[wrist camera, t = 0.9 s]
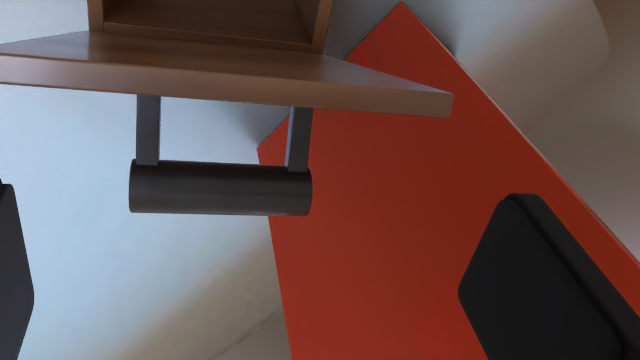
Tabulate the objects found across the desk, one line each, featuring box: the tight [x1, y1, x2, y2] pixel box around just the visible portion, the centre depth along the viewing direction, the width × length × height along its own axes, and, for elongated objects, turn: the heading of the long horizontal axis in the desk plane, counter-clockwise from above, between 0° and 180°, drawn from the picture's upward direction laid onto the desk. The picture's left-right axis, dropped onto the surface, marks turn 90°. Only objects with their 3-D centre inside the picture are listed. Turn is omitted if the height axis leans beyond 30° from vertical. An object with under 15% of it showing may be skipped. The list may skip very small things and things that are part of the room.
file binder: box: [257, 1, 640, 360], centre depth 33 cm, size 8×17×32 cm, turn 135°
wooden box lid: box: [0, 30, 454, 217], centre depth 24 cm, size 17×14×5 cm
